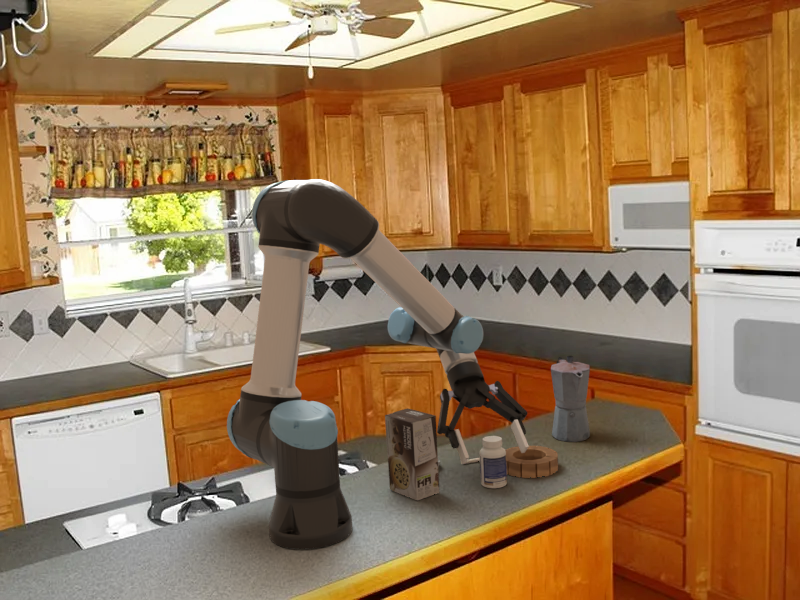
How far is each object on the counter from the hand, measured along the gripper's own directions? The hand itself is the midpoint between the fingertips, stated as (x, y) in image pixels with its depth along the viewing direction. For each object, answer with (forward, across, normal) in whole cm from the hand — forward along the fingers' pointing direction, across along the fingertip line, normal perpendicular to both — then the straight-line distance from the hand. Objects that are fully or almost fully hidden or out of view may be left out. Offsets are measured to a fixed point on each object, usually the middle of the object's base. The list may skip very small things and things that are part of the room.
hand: (495, 455), depth 170 cm
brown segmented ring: (+1, -10, -8) cm, 13 cm away
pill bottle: (+4, +1, -4) cm, 6 cm away
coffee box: (+2, +17, -7) cm, 18 cm away
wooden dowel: (-6, -6, -14) cm, 16 cm away
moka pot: (-9, -29, -18) cm, 36 cm away
